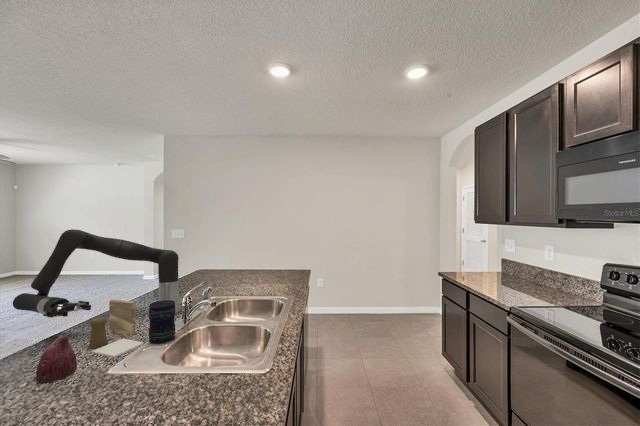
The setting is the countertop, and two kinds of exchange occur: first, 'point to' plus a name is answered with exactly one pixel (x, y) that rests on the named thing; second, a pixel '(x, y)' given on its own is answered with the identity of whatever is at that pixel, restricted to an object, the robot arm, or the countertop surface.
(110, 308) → the maple board
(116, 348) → the coaster
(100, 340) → the cork
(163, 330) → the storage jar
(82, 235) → the robot arm
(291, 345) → the countertop surface
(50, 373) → the vegetable
